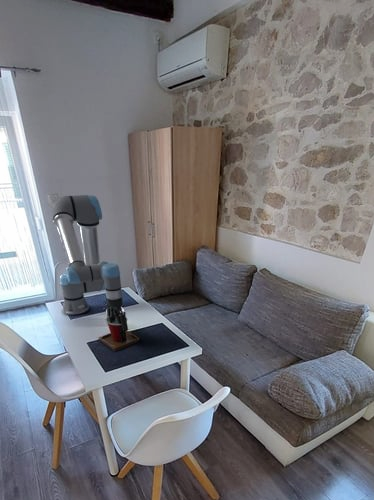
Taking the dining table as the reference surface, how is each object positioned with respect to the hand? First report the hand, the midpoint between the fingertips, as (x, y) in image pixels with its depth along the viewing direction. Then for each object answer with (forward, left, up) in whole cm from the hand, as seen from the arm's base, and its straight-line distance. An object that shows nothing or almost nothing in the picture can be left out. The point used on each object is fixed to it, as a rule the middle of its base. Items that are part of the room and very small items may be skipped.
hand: (119, 338), depth 163 cm
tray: (0, 0, -1) cm, 1 cm away
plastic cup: (0, 0, -1) cm, 1 cm away
